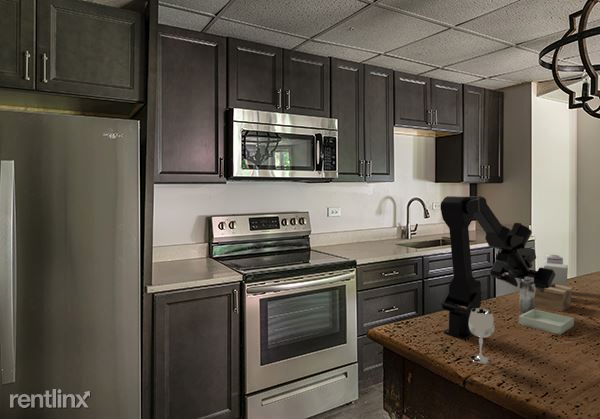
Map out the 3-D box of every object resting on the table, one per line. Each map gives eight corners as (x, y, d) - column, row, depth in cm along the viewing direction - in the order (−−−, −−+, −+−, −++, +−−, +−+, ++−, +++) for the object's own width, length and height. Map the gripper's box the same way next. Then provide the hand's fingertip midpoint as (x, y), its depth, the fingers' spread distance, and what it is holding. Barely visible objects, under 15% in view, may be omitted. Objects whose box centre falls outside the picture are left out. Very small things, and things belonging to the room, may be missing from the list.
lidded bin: (562, 312, 131) (563, 289, 131) (531, 305, 139) (531, 283, 139) (572, 306, 138) (573, 284, 137) (541, 300, 145) (542, 279, 145)
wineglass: (463, 359, 95) (464, 311, 95) (473, 352, 100) (474, 306, 99) (488, 367, 91) (489, 316, 91) (497, 359, 95) (498, 311, 95)
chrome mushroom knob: (532, 315, 128) (533, 282, 128) (515, 311, 133) (516, 279, 132) (538, 311, 132) (539, 279, 131) (521, 308, 136) (522, 276, 135)
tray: (560, 334, 111) (560, 326, 111) (518, 324, 120) (518, 316, 120) (573, 325, 118) (574, 317, 118) (533, 316, 127) (533, 308, 127)
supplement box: (565, 302, 143) (567, 267, 142) (542, 298, 147) (543, 265, 147) (567, 297, 149) (568, 264, 148) (544, 294, 153) (545, 262, 153)
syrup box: (562, 293, 154) (564, 257, 153) (545, 292, 156) (546, 256, 155) (559, 290, 159) (560, 254, 158) (542, 288, 161) (543, 254, 160)
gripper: (553, 244, 121) (569, 274, 127) (495, 237, 136) (512, 265, 143) (539, 272, 117) (556, 302, 124) (481, 262, 133) (499, 289, 139)
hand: (529, 288), depth 132 cm, fingers open, 8 cm apart
